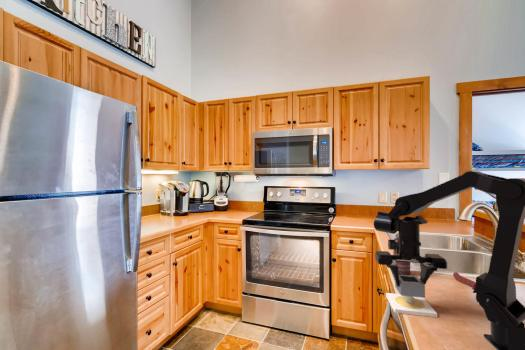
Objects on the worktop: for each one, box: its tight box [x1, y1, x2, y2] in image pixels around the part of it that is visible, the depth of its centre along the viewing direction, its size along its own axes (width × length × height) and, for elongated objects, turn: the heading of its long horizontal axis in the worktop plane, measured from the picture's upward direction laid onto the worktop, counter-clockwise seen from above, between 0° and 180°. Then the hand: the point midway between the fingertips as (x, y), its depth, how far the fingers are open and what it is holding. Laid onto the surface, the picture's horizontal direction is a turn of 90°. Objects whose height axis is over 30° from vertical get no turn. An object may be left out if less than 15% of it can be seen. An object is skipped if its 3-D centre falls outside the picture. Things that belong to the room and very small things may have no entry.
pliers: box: [452, 271, 476, 291], centre depth 91 cm, size 11×20×3 cm, turn 157°
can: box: [392, 237, 411, 276], centre depth 106 cm, size 6×6×14 cm
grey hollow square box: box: [394, 275, 426, 299], centre depth 79 cm, size 6×6×4 cm
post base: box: [385, 292, 438, 318], centre depth 79 cm, size 11×11×6 cm
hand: (409, 287), depth 79 cm, fingers closed on grey hollow square box, 6 cm apart
